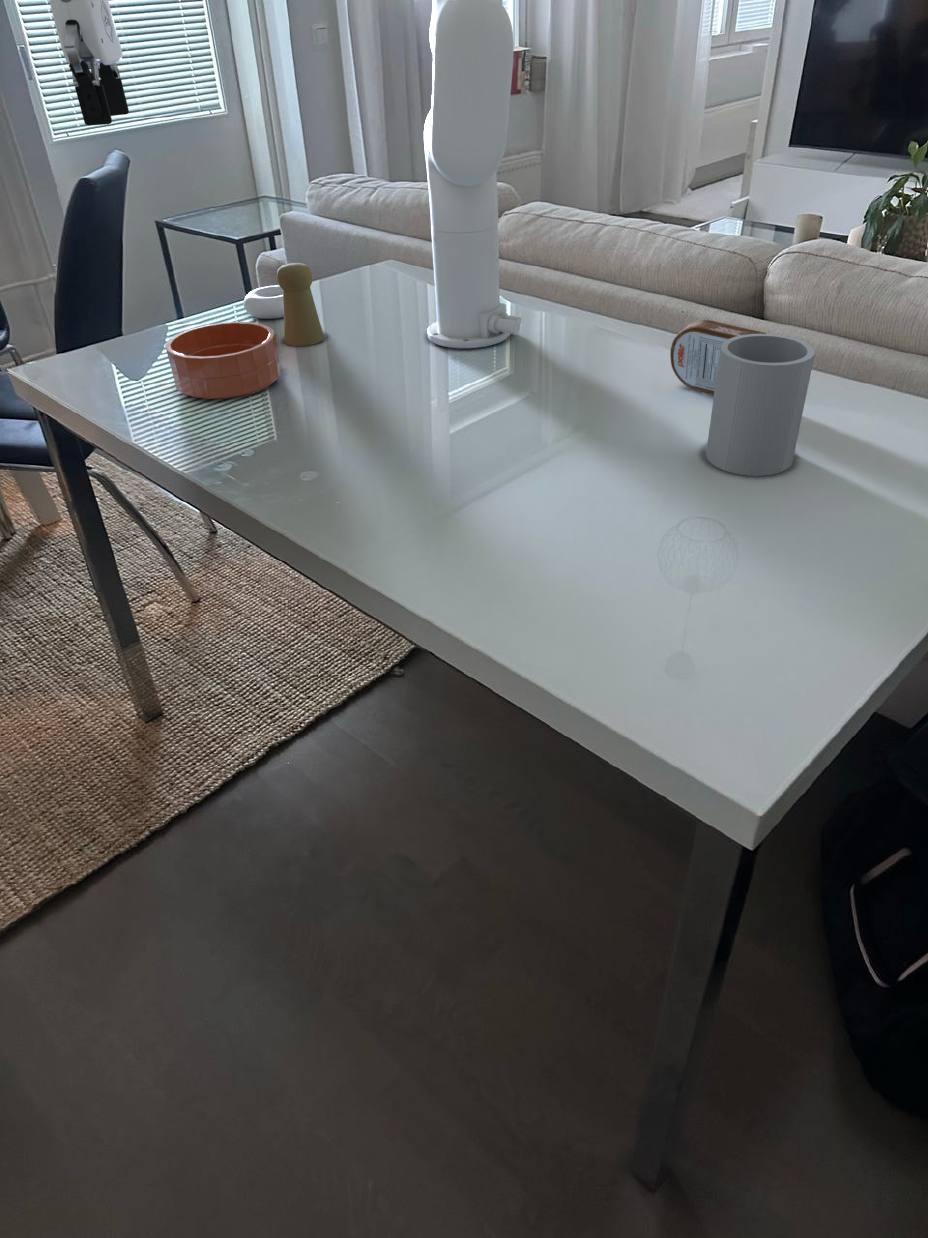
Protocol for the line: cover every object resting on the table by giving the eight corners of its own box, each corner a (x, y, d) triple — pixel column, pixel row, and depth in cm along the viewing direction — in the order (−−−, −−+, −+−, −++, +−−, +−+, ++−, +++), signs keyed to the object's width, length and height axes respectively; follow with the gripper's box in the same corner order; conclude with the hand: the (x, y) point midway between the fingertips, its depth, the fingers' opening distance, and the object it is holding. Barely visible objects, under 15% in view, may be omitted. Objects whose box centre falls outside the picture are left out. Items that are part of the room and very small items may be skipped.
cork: (330, 334, 133) (320, 260, 126) (313, 347, 128) (301, 271, 122) (296, 331, 135) (284, 258, 128) (277, 344, 130) (264, 269, 124)
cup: (689, 455, 95) (702, 348, 87) (741, 431, 99) (758, 327, 92) (757, 484, 89) (777, 372, 81) (809, 457, 93) (833, 348, 86)
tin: (783, 404, 104) (796, 335, 99) (770, 412, 102) (783, 343, 97) (676, 377, 113) (683, 312, 108) (663, 384, 111) (669, 319, 106)
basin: (302, 373, 120) (295, 330, 116) (227, 410, 111) (217, 365, 107) (231, 356, 127) (223, 315, 123) (154, 390, 118) (143, 347, 114)
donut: (240, 323, 140) (300, 320, 139) (235, 302, 138) (296, 298, 137) (253, 304, 148) (310, 301, 147) (248, 284, 146) (306, 280, 145)
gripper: (77, -57, 91) (123, 126, 102) (114, -52, 105) (151, 109, 115) (6, -53, 91) (59, 130, 101) (52, -48, 105) (94, 112, 115)
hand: (108, 119), depth 108 cm, fingers open, 9 cm apart
